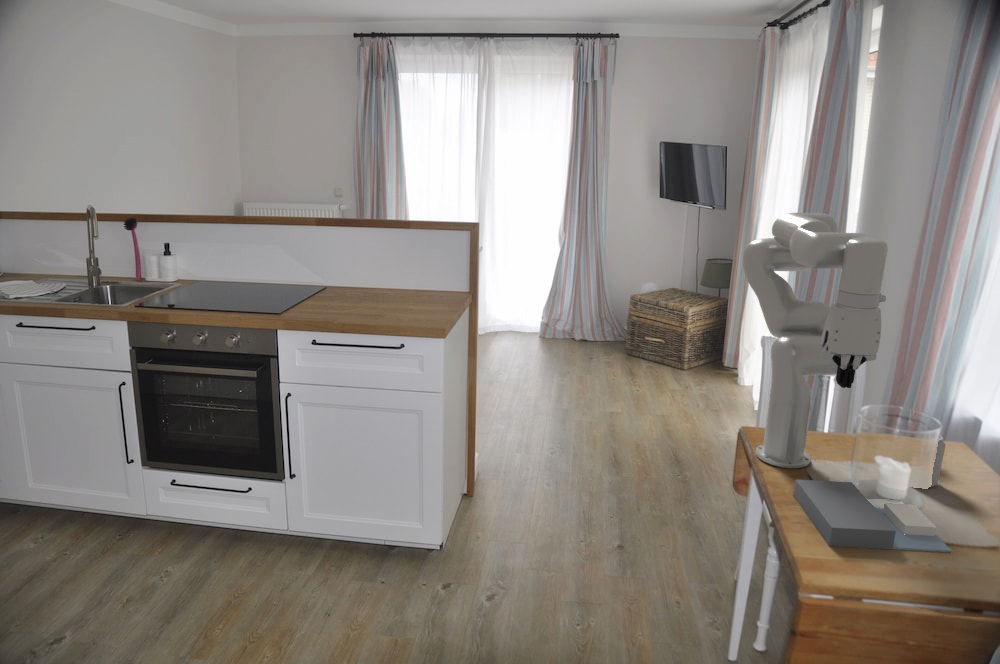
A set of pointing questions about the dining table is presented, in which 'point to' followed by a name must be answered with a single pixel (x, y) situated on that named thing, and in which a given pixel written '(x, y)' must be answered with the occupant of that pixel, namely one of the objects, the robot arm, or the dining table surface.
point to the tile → (909, 519)
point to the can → (938, 461)
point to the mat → (915, 540)
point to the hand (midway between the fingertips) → (843, 385)
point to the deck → (843, 515)
